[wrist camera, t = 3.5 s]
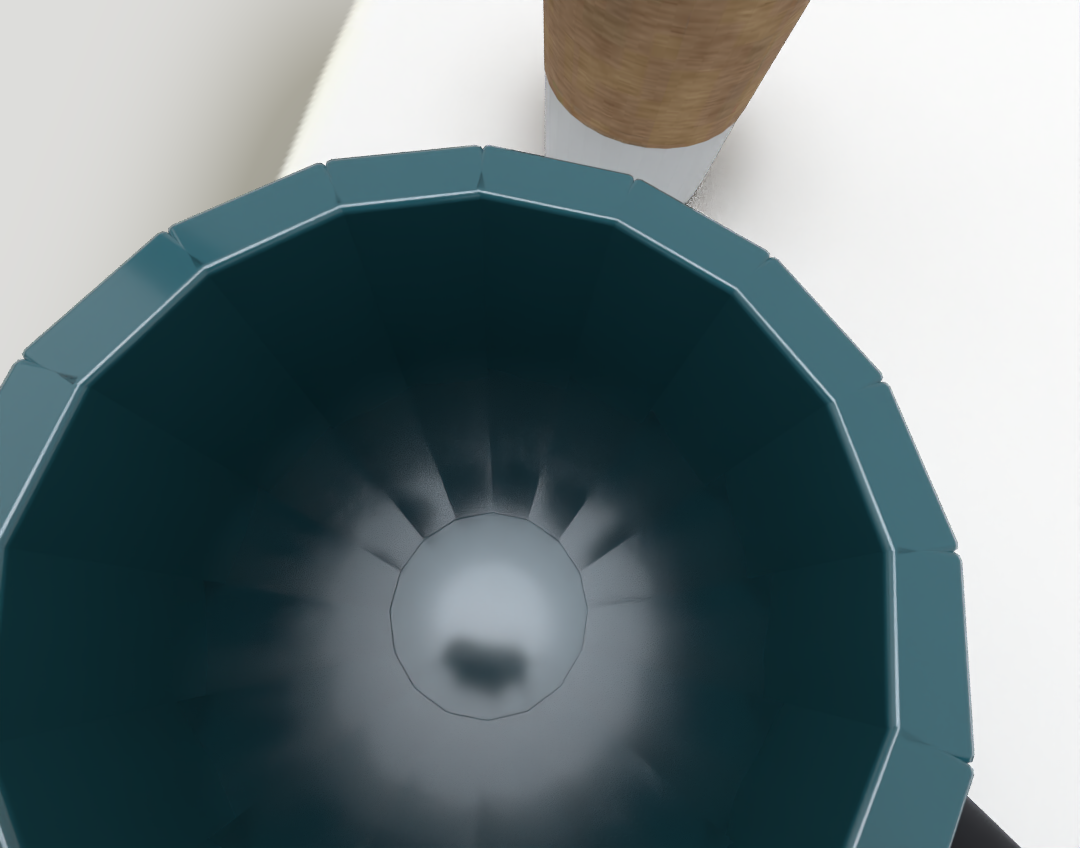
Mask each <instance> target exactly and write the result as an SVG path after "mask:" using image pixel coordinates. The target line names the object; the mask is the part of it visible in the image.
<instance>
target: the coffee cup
mask: <svg viewBox="0 0 1080 848" xmlns="http://www.w3.org/2000/svg"><path fill="white" fill-rule="evenodd" d="M809 2H810V0H543V8H544V66H545V157H549V158H554V159H559V160H564V161H569V162H573V163H578V164H583V165H588V166H592V167H597V168H602V169H607V170H612V171H616V172H621V173H626V174H630V175H632V176H633V178H634V180H636V179H642V180H644V181H645V182H647V183H649V184H651V185H652V186H654V187H656V188H658V189H659V190H661V191H663V192H665V193H667V194H668V195H670V196H672V197H674V198H675V199H677V200H679V201H681V202H682V203H684V204H685V203H686V202H687V201H689V200H690V198H691V197H692V195H693V194H694V193H695V191H696V190H697V188H698V187H699V185H700V184H701V182H702V180H703V179H704V177H705V175H706V173H707V172H708V170H709V168H710V166H711V165H712V163H713V161H714V159H715V157H716V156H717V154H718V152H719V150H720V149H721V147H722V145H723V143H724V142H725V140H726V138H727V136H728V134H729V133H730V131H731V129H732V127H733V126H734V124H735V122H736V120H737V119H738V118H739V116H740V115H741V113H742V112H743V111H744V109H745V108H746V106H747V104H748V103H749V101H750V99H751V98H752V96H753V94H754V93H755V91H756V89H757V88H758V86H759V84H760V83H761V81H762V79H763V78H764V76H765V74H766V73H767V71H768V69H769V68H770V66H771V65H772V63H773V61H774V60H775V58H776V56H777V55H778V53H779V51H780V50H781V48H782V46H783V45H784V43H785V41H786V40H787V38H788V36H789V35H790V33H791V31H792V30H793V28H794V26H795V25H796V23H797V21H798V20H799V18H800V17H801V15H802V13H803V12H804V10H805V8H806V7H807V5H808V3H809Z"/></svg>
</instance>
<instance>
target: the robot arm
mask: <svg viewBox="0 0 1080 848" xmlns="http://www.w3.org/2000/svg"><path fill="white" fill-rule="evenodd" d="M951 848H1021V847H1020V846H1019V845H1018V844H1017V843H1016V842H1014V841H1013V840H1012V839H1011V838H1010V837H1009V836H1008V835H1007V834H1006V833H1005V832H1004V831H1003V830H1002V829H1001V828H1000V827H999V826H998V825H997V824H996V823H995V822H994V821H993V820H992V819H991V818H990V817H989V816H987V815H986V814H985V813H984V812H983V811H982V810H981V809H980V808H979V807H978V806H977V805H976V804H975V803H974V802H973V801H972V800H971V799H970V798H969V797H968V796H967V798H966V801H965V804H964V807H963V810H962V814H961V817H960V820H959V823H958V826H957V829H956V832H955V836H954V839H953V842H952V845H951Z"/></svg>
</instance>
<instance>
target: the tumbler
mask: <svg viewBox="0 0 1080 848" xmlns="http://www.w3.org/2000/svg"><path fill="white" fill-rule="evenodd" d="M168 232H169V233H167V232H163V231H162V232H160V233H158V234H156V235H155V236H154V237H153V238H152V239H151V240H150V241H148V242H147V243H146V244H145V245H144V246H143V247H142V248H140V249H139V250H138V251H137V252H136V253H135V254H133V255H132V256H131V257H130V258H129V259H128V260H127V261H125V262H124V263H123V264H122V265H121V266H120V267H119V268H118V269H116V270H115V271H114V272H113V273H112V274H111V275H109V276H108V277H107V278H106V279H105V280H104V281H103V282H101V283H100V284H99V285H98V286H97V287H96V288H95V289H93V290H92V291H91V292H90V293H89V294H88V295H86V296H85V297H84V298H83V299H82V300H81V301H80V302H78V303H77V304H76V305H75V306H74V307H73V308H72V309H70V310H69V311H68V312H67V313H66V314H65V315H64V316H62V317H61V318H60V319H59V320H58V321H57V322H55V323H54V324H53V325H52V326H51V327H50V328H49V329H47V330H46V331H45V332H44V333H43V334H42V335H41V336H39V337H38V338H37V339H36V340H35V341H34V342H33V343H31V344H30V345H29V346H28V347H27V348H26V349H25V350H24V352H23V353H22V355H23V357H24V359H22V360H18V361H17V362H15V363H14V364H13V365H12V367H11V369H10V371H9V372H8V374H7V376H6V378H5V379H4V381H3V383H2V385H1V386H0V848H951V845H952V842H953V839H954V836H955V832H956V829H957V826H958V823H959V820H960V817H961V814H962V810H963V807H964V804H965V801H966V798H967V795H968V792H969V789H970V785H971V782H972V779H973V776H974V774H973V769H972V768H971V766H970V765H969V764H968V763H969V762H972V761H973V758H974V741H973V726H972V710H971V694H970V678H969V663H968V647H967V631H966V615H965V600H964V584H963V568H962V560H961V558H960V555H958V554H956V553H955V552H954V551H955V550H956V549H958V543H957V540H956V538H955V535H954V533H953V531H952V528H951V526H950V524H949V522H948V519H947V517H946V515H945V512H944V510H943V508H942V505H941V503H940V501H939V498H938V496H937V494H936V492H935V489H934V487H933V485H932V482H931V480H930V478H929V475H928V473H927V471H926V468H925V466H924V464H923V462H922V459H921V457H920V455H919V452H918V450H917V448H916V445H915V443H914V441H913V438H912V436H911V434H910V432H909V429H908V427H907V425H906V422H905V420H904V418H903V415H902V413H901V411H900V408H899V406H898V404H897V402H896V399H895V397H894V395H893V392H892V390H891V388H890V386H889V385H888V384H887V383H886V382H881V380H882V378H883V376H882V374H881V372H880V371H879V370H878V369H877V368H876V366H875V365H874V364H873V363H872V362H871V361H870V360H869V359H868V358H867V357H866V355H865V354H864V353H863V352H862V351H861V350H860V349H859V348H858V347H857V346H856V344H855V343H854V342H853V341H852V340H851V339H850V338H849V337H848V336H847V335H846V333H845V332H844V331H843V330H842V329H841V328H840V327H839V326H838V325H837V324H836V322H835V321H834V320H833V319H832V318H831V317H830V316H829V315H828V314H827V313H826V311H825V310H824V309H823V308H822V307H821V306H820V305H819V304H818V303H817V302H816V300H815V299H814V298H813V297H812V296H811V295H810V294H809V293H808V292H807V291H806V289H805V288H804V287H803V286H802V285H801V284H800V283H799V282H798V281H797V280H796V278H795V277H794V276H793V275H792V274H791V273H790V272H789V271H788V270H787V269H786V267H785V266H784V265H783V264H782V263H781V262H780V261H779V260H778V259H777V258H775V257H772V258H769V255H770V254H769V252H768V251H767V250H765V249H764V248H762V247H760V246H758V245H757V244H755V243H753V242H751V241H749V240H748V239H746V238H744V237H742V236H741V235H739V234H737V233H735V232H734V231H732V230H730V229H728V228H727V227H725V226H723V225H721V224H719V223H718V222H716V221H714V220H712V219H711V218H709V217H707V216H705V215H704V214H702V213H700V212H698V211H697V210H695V209H693V208H691V207H689V206H688V205H686V204H684V203H682V202H681V201H679V200H677V199H675V198H674V197H672V196H670V195H668V194H667V193H665V192H663V191H661V190H659V189H658V188H656V187H654V186H652V185H651V184H649V183H647V182H645V181H644V180H642V179H636V180H634V178H633V176H632V175H630V174H626V173H621V172H616V171H612V170H607V169H602V168H597V167H592V166H588V165H583V164H578V163H573V162H569V161H564V160H559V159H554V158H549V157H545V156H540V155H535V154H530V153H525V152H521V151H516V150H511V149H506V148H501V147H497V146H492V145H486V146H485V147H484V148H483V149H482V148H481V146H478V145H471V146H461V147H451V148H441V149H431V150H421V151H411V152H401V153H391V154H381V155H371V156H361V157H351V158H341V159H331V160H329V161H327V163H326V166H325V165H323V164H322V163H316V164H313V165H311V166H309V167H306V168H304V169H302V170H299V171H297V172H295V173H292V174H290V175H288V176H285V177H283V178H281V179H278V180H276V181H274V182H271V183H269V184H267V185H264V186H262V187H260V188H257V189H255V190H253V191H250V192H248V193H246V194H243V195H241V196H239V197H236V198H234V199H232V200H230V201H227V202H225V203H223V204H220V205H218V206H215V207H213V208H211V209H208V210H206V211H204V212H201V213H199V214H197V215H194V216H192V217H190V218H187V219H185V220H183V221H180V222H178V223H176V224H173V225H172V226H171V227H170V228H169V229H168Z"/></svg>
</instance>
